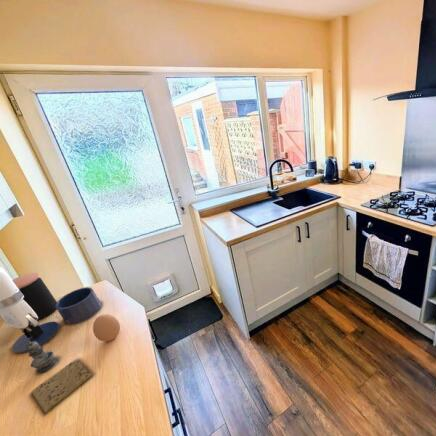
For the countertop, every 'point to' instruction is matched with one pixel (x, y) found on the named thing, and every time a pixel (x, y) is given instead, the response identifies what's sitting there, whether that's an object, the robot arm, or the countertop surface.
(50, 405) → the pitted brown brick
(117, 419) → the countertop surface
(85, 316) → the tin
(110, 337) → the egg
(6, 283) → the robot arm
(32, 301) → the coffee jar
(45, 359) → the grey tall lumpy piece
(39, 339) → the tin lid
